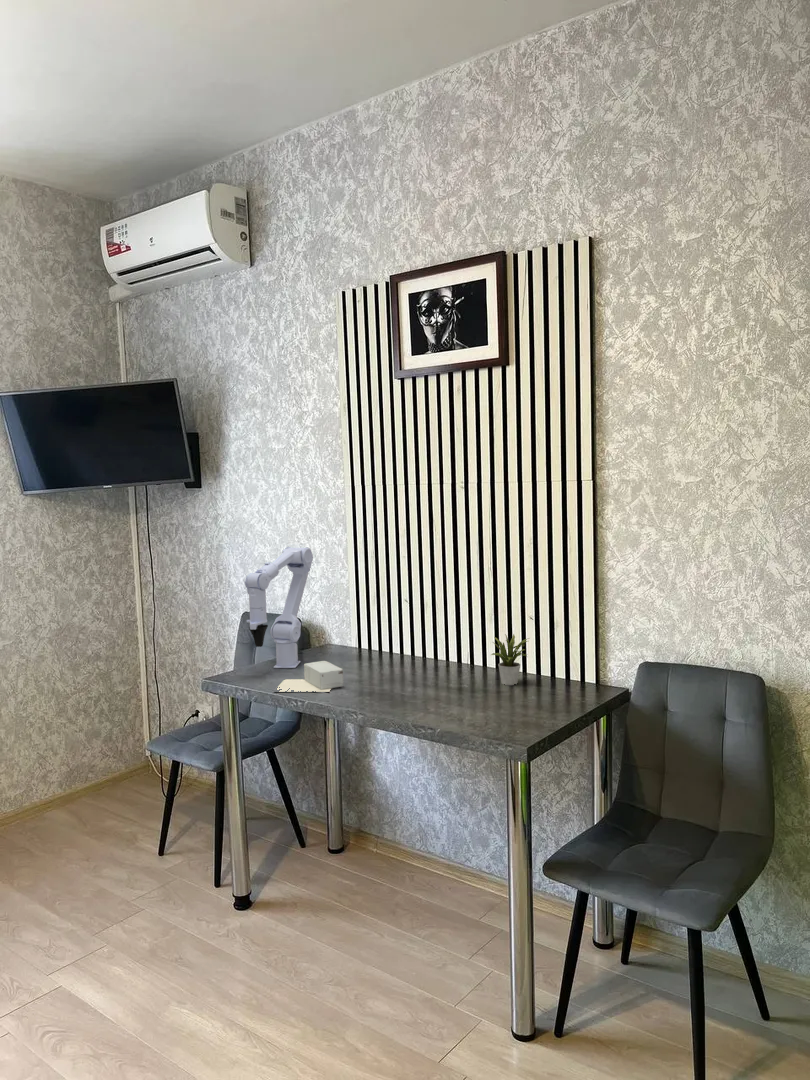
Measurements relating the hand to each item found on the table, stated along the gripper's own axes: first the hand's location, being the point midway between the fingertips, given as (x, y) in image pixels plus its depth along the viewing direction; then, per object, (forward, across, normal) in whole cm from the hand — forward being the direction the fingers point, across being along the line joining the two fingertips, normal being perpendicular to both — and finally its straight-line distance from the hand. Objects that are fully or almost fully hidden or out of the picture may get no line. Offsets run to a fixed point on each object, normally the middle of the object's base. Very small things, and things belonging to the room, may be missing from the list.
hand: (259, 646), depth 275 cm
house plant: (+10, +12, +86) cm, 88 cm away
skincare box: (+7, +5, +20) cm, 22 cm away
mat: (+10, +14, +19) cm, 26 cm away
